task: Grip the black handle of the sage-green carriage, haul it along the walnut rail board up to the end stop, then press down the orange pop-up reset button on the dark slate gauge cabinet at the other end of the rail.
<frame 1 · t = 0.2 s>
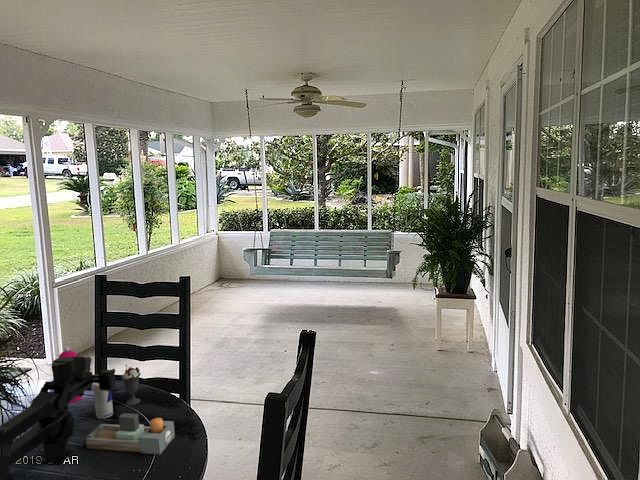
hand: (102, 369, 176), 17 cm above the table, tool horizontal, fingers open, 9 cm apart
rail board: (122, 441, 162), on the table
pepper mill: (72, 399, 192), on the table
energy drink: (105, 415, 179), on the table
sundae: (133, 402, 188), on the table
gauge cabinet: (158, 444, 160), on the table
reset button: (156, 426, 159), point 6 cm above the table, slide at 0.0 cm
carriage: (129, 426, 161), point 5 cm above the table, slide at 0.0 cm
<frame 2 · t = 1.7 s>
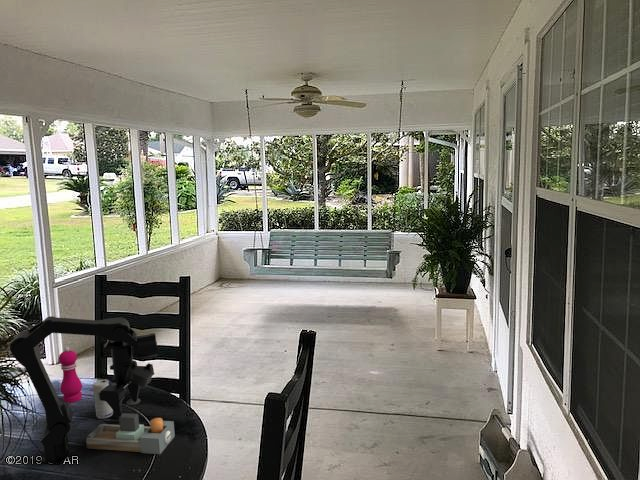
hand: (127, 408, 160), 11 cm above the table, tool pointing down, fingers open, 9 cm apart
nothing on the table moved.
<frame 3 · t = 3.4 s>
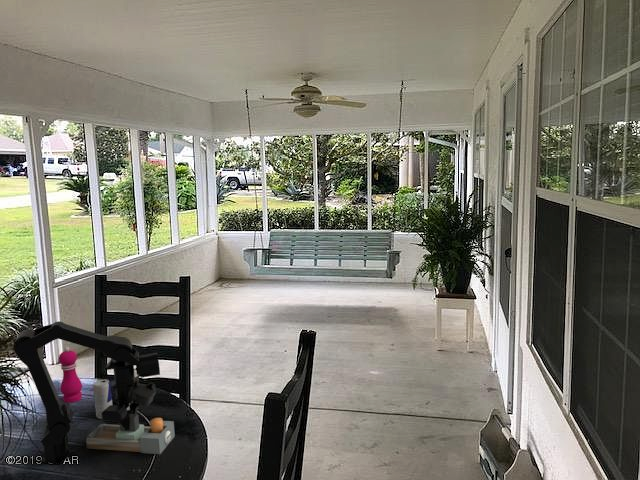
hand: (129, 427, 161), 5 cm above the table, tool pointing down, fingers closed on carriage, 2 cm apart
carriage: (129, 426, 161), point 5 cm above the table, slide at 0.0 cm, touching gripper
everything else where it was.
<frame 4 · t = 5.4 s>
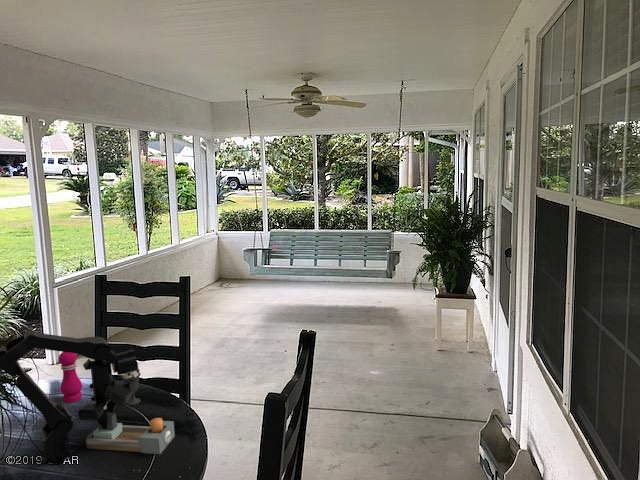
hand: (107, 426, 162), 5 cm above the table, tool pointing down, fingers closed on carriage, 2 cm apart
carriage: (107, 425, 162), point 5 cm above the table, slide at 7.4 cm, touching gripper
everything else where it was.
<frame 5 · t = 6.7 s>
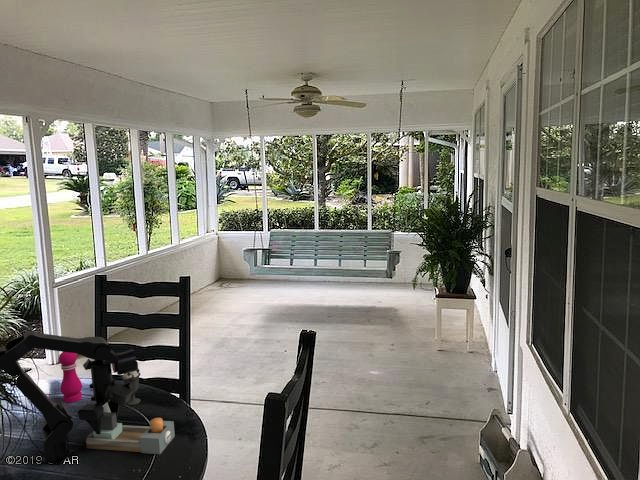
hand: (107, 426, 162), 5 cm above the table, tool pointing down, fingers open, 9 cm apart
carriage: (107, 425, 162), point 5 cm above the table, slide at 7.4 cm
everything else where it was.
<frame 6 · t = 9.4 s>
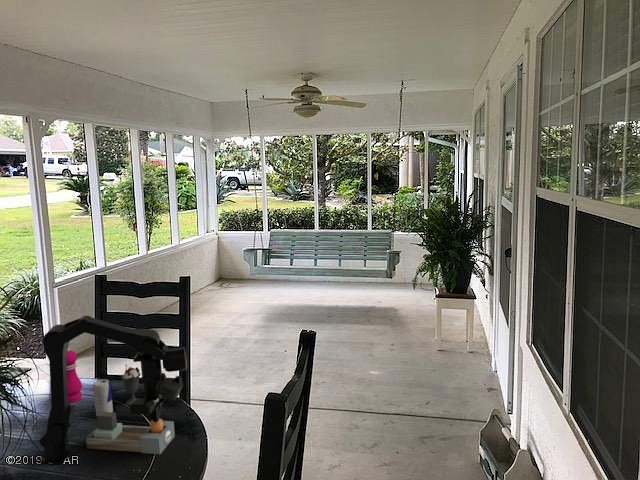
hand: (156, 421, 159), 8 cm above the table, tool pointing down, fingers closed, pressing on reset button
reset button: (156, 427, 159), point 6 cm above the table, slide at 0.2 cm, touching gripper
everything else where it was.
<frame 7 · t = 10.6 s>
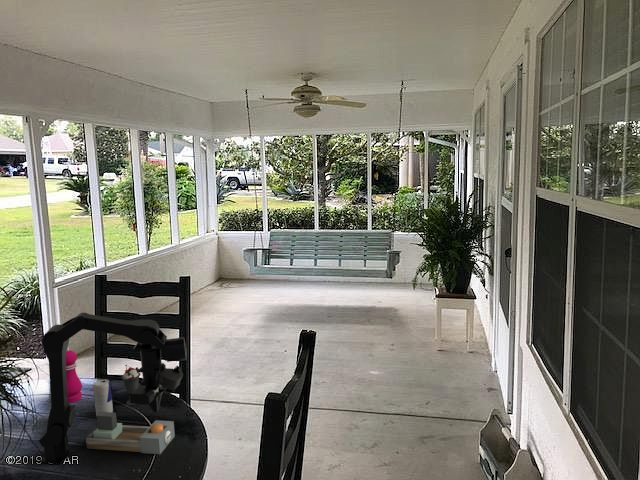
hand: (156, 411, 158), 11 cm above the table, tool pointing down, fingers closed
reset button: (157, 432, 159), point 4 cm above the table, slide at 1.8 cm
everything else where it was.
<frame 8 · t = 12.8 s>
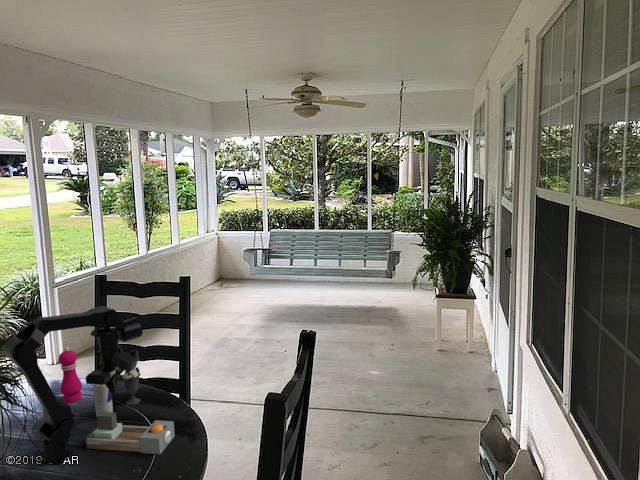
hand: (113, 393, 166), 13 cm above the table, tool pointing down, fingers closed
nothing on the table moved.
at the end: carriage slide at 7.4 cm; reset button slide at 1.8 cm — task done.
